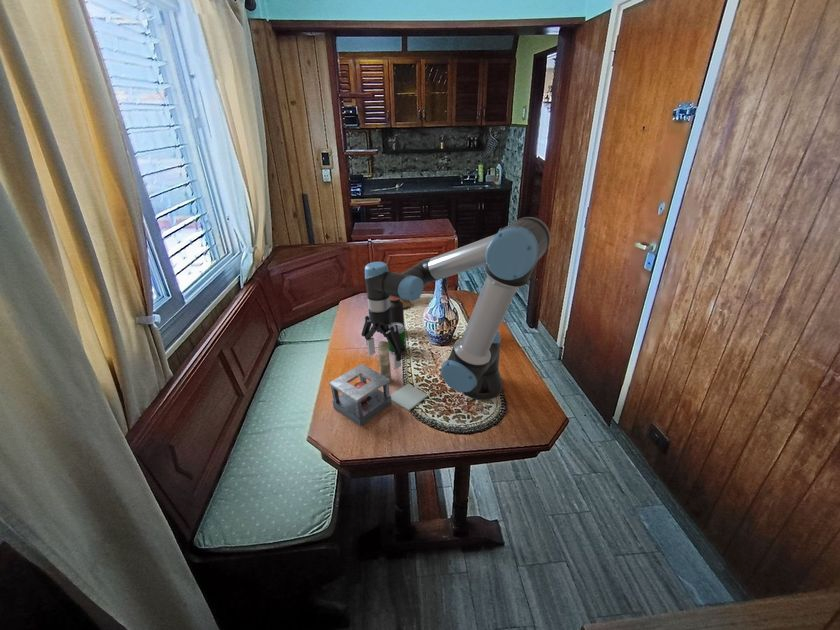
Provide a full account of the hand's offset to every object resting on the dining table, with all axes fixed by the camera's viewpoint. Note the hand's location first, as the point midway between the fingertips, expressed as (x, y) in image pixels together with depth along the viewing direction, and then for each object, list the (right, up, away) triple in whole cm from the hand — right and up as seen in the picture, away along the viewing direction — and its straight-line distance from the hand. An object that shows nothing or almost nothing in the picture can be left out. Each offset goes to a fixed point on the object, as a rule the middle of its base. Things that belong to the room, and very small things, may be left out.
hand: (384, 360), depth 140 cm
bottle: (+3, +8, +34) cm, 35 cm away
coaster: (+9, -12, -5) cm, 16 cm away
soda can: (+3, +1, +22) cm, 22 cm away
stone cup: (+3, +22, +63) cm, 67 cm away
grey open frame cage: (-7, -14, -8) cm, 18 cm away
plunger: (-7, -11, -10) cm, 16 cm away
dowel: (0, -8, +4) cm, 9 cm away
